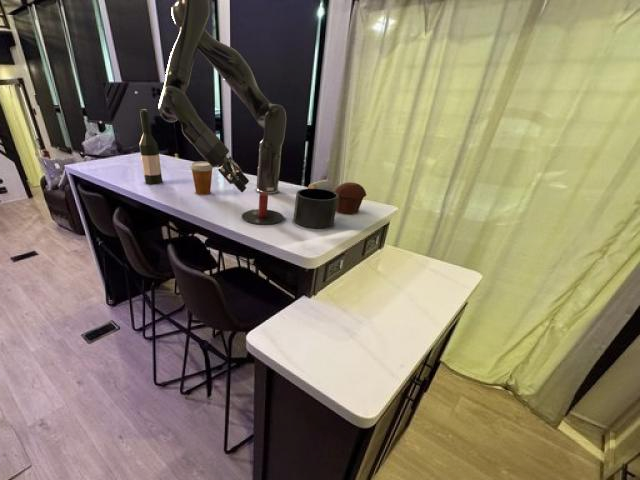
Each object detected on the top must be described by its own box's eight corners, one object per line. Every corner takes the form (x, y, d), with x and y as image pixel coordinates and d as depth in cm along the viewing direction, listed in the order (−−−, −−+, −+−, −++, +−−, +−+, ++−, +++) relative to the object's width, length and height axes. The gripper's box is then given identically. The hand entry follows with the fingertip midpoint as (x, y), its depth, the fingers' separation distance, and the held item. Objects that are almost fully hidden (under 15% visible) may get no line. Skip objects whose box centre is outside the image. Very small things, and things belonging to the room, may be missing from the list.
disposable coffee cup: (211, 189, 141) (209, 160, 134) (216, 195, 133) (215, 165, 127) (190, 190, 138) (188, 161, 131) (194, 196, 131) (192, 166, 124)
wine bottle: (160, 184, 146) (150, 110, 128) (142, 184, 146) (130, 110, 128) (164, 180, 152) (155, 109, 135) (147, 180, 152) (136, 108, 135)
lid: (234, 215, 113) (235, 191, 108) (268, 210, 118) (270, 186, 114) (254, 229, 102) (255, 203, 97) (291, 222, 108) (293, 197, 103)
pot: (285, 219, 110) (288, 191, 104) (316, 214, 115) (320, 186, 110) (309, 233, 100) (314, 202, 95) (341, 226, 105) (347, 197, 100)
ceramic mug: (304, 198, 131) (307, 179, 126) (320, 196, 134) (323, 177, 129) (320, 206, 123) (323, 186, 119) (336, 203, 126) (340, 184, 122)
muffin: (328, 212, 117) (333, 185, 111) (332, 204, 125) (337, 178, 119) (361, 217, 113) (368, 189, 107) (363, 208, 122) (369, 181, 116)
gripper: (208, 152, 107) (240, 188, 112) (198, 161, 95) (234, 200, 101) (223, 136, 103) (255, 174, 109) (214, 142, 92) (251, 184, 97)
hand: (245, 186), depth 105 cm, fingers open, 8 cm apart
